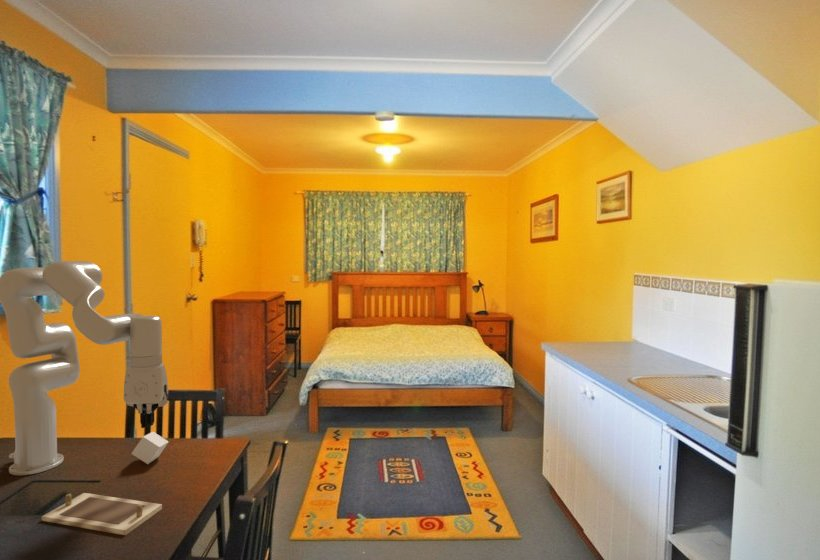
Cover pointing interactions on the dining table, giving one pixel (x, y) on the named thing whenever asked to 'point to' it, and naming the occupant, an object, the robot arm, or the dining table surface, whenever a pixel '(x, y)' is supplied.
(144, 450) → the white cube
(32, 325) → the robot arm
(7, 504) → the dining table surface
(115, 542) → the dining table surface
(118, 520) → the serving tray
